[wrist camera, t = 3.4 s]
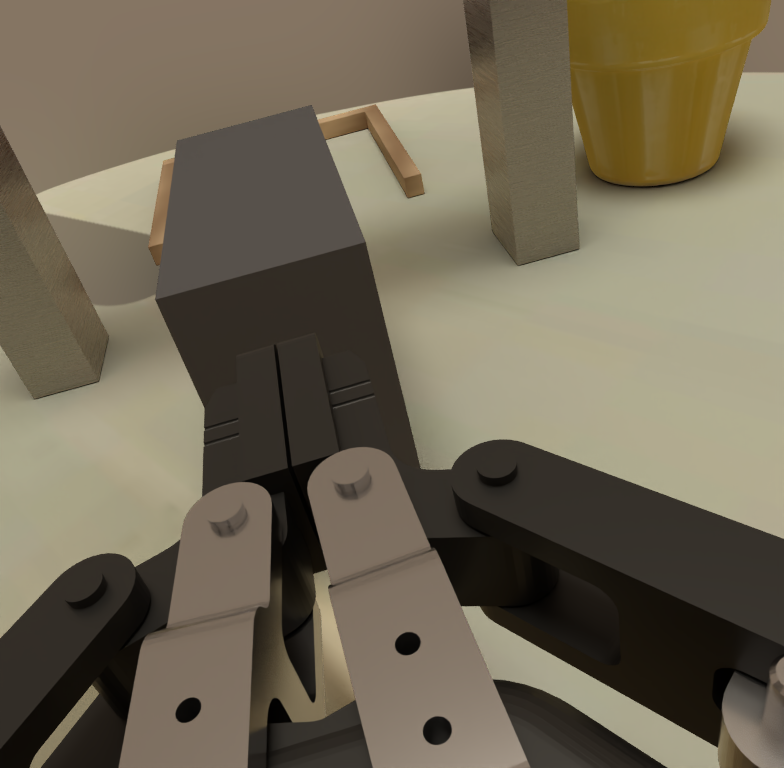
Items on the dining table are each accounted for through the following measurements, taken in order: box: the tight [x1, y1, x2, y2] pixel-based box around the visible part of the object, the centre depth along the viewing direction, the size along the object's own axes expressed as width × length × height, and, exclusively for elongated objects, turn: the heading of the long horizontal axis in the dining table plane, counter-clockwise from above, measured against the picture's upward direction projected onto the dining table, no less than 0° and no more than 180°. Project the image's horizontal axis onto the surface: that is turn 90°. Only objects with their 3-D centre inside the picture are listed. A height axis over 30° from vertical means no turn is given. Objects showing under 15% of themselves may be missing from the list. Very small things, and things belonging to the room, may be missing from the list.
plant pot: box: [567, 0, 771, 186], centre depth 38 cm, size 10×10×10 cm
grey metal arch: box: [0, 0, 579, 399], centre depth 30 cm, size 26×4×20 cm, turn 101°
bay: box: [148, 105, 424, 265], centre depth 49 cm, size 16×15×1 cm
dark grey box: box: [155, 105, 420, 469], centre depth 25 cm, size 5×13×10 cm, turn 11°
